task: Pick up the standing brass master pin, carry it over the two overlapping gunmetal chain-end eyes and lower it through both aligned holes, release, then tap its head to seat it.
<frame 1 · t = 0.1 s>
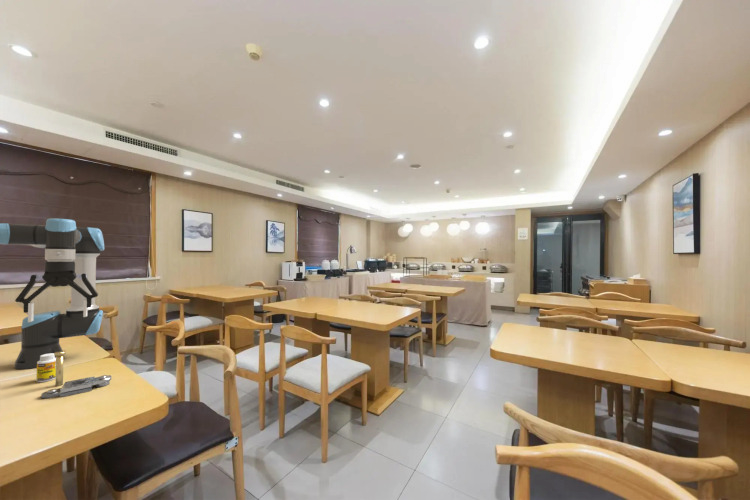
hand: (59, 318, 105), 28 cm above the table, fingers open, 13 cm apart
master pin: (59, 385, 112), on the table
chain ends: (78, 389, 109), on the table
supplement bottle: (46, 380, 117), on the table
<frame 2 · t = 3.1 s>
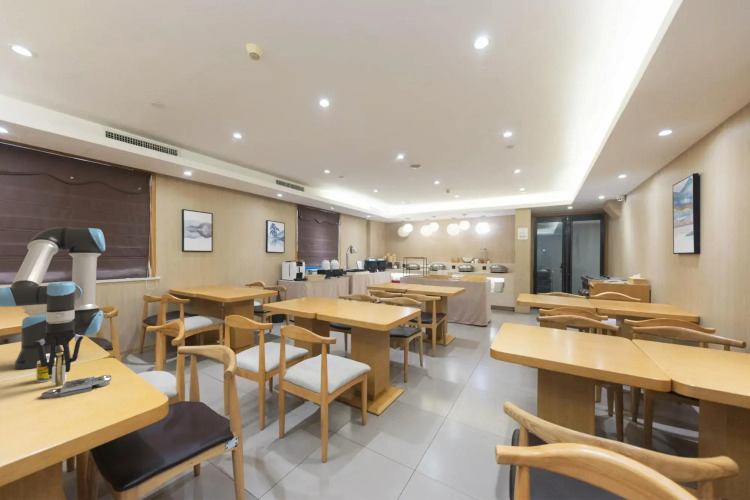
hand: (59, 381, 112), 1 cm above the table, fingers closed on master pin, 2 cm apart
master pin: (59, 385, 112), on the table, touching gripper
everything else where it was.
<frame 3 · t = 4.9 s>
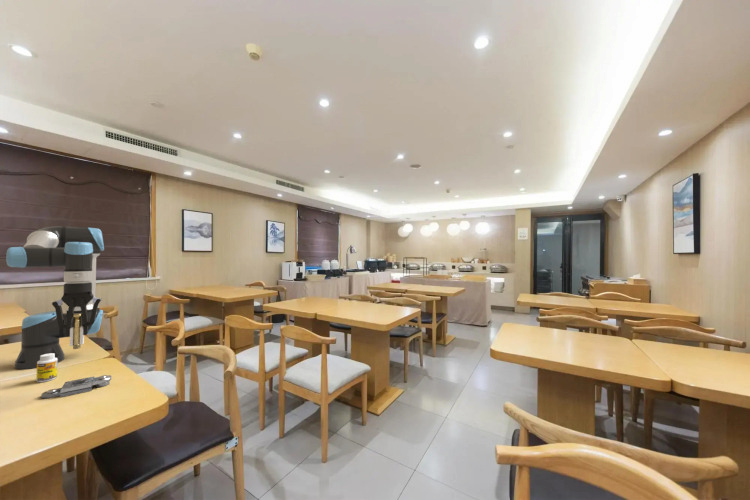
hand: (76, 344, 109), 17 cm above the table, fingers closed on master pin, 2 cm apart
master pin: (76, 348, 109), point 16 cm above the table, touching gripper
everything else where it was.
when the fingers open (4 cm above the table, at t = 6.8 s): master pin drops 2 cm, resting in chain ends.
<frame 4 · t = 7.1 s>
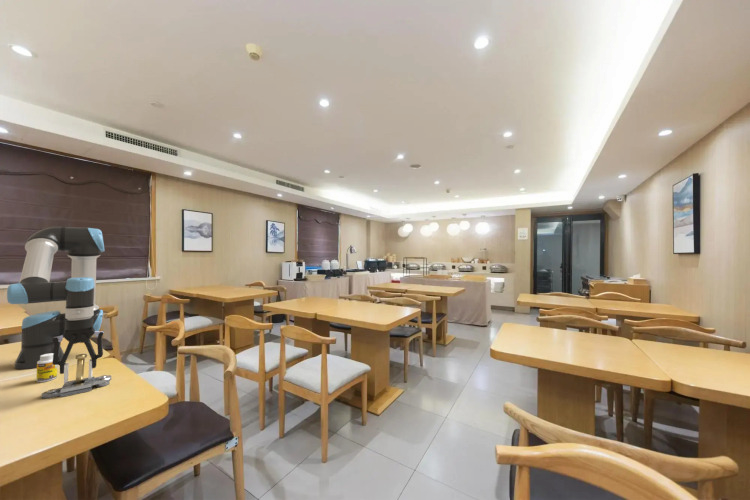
hand: (78, 379, 109), 4 cm above the table, fingers open, 6 cm apart
master pin: (78, 389, 109), resting in chain ends
everything else where it was.
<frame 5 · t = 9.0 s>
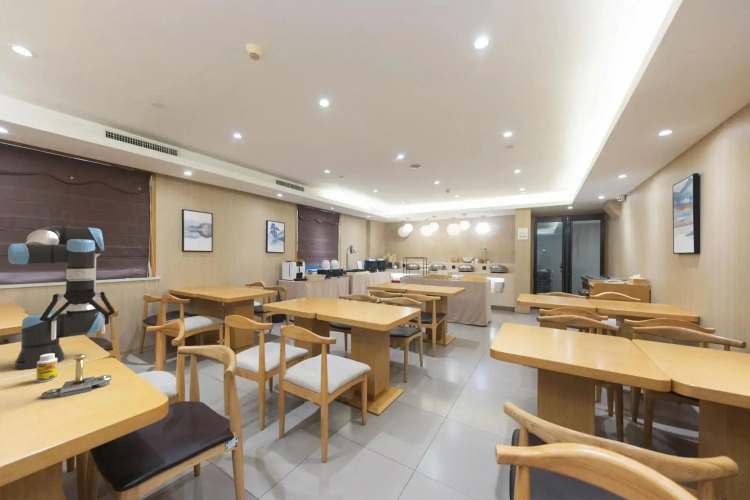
hand: (79, 336, 109), 20 cm above the table, fingers open, 12 cm apart
nothing on the table moved.
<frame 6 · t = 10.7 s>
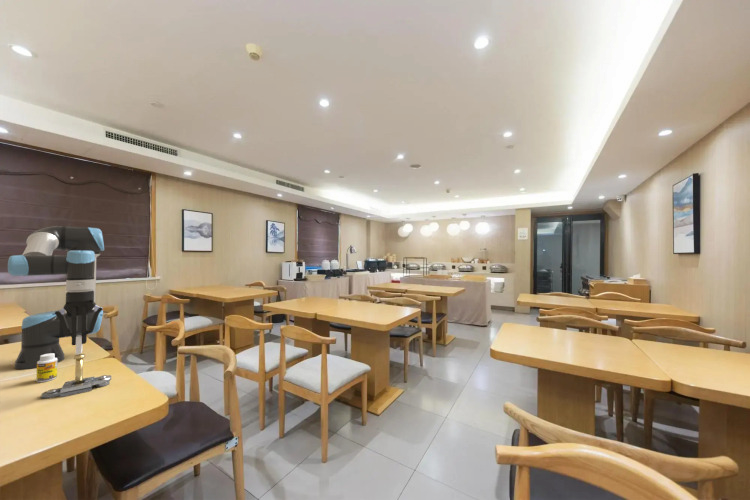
hand: (79, 352, 109), 14 cm above the table, fingers closed
nothing on the table moved.
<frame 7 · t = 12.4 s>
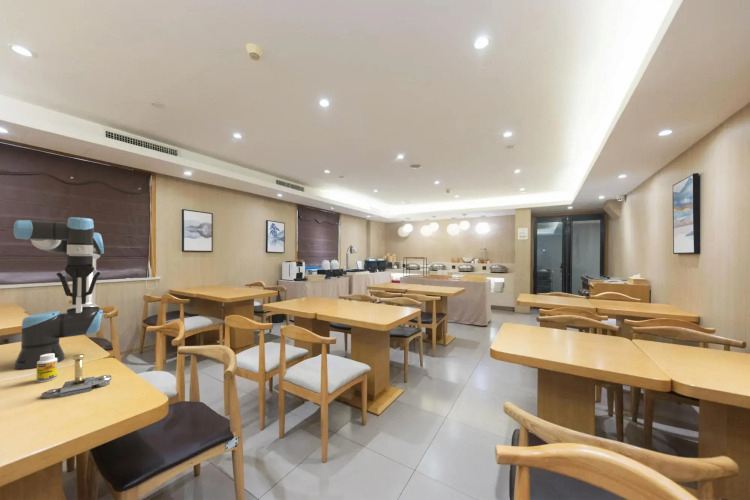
hand: (79, 312, 118), 27 cm above the table, fingers closed
nothing on the table moved.
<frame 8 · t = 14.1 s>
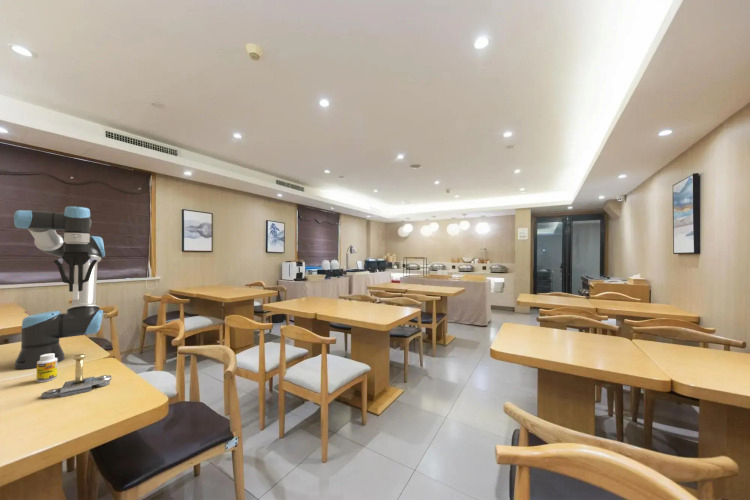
hand: (75, 299, 121), 32 cm above the table, fingers closed
nothing on the table moved.
at the end: master pin 0.1 cm off-centre on the chain ends, point 0.0 cm above the chain ends's base; master pin tilted 1°; the gripper is holding nothing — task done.
